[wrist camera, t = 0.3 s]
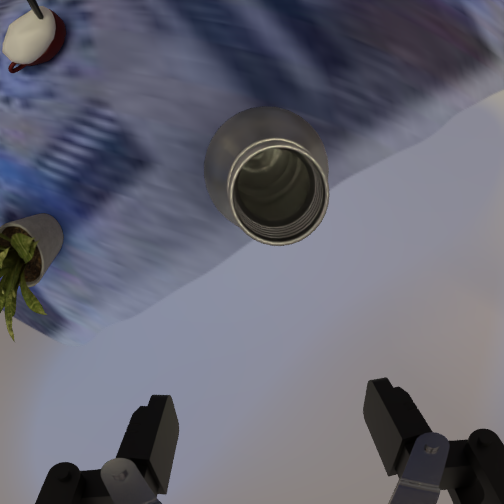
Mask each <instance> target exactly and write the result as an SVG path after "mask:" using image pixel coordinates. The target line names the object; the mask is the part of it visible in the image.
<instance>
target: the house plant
mask: <svg viewBox="0 0 504 504" xmlns="http://www.w3.org/2000/svg"><path fill="white" fill-rule="evenodd" d="M62 243H63V231H62V229H61V226H60V225H59V223H58V221H57V220H56V219H55V218H54V217H52V216H51V215H49V214H45V213H41V214H37V215H33V216H29V217H26V218H22V219H19V220H16V221H12V222H9V223H6V224H4V225H2V226H1V227H0V278H1V277H2V276H3V275H4V276H3V277H2V279H1V282H0V313H1V311H2V309H3V307H4V306H5V319H6V325H7V329H8V332H9V334H10V336H11V337H12V339H13V341H14V334H13V330H12V317H13V316H14V314H15V310H16V296H17V289H18V286H20V288H21V292H22V295H23V298H24V300H25V302H26V304H27V306H28V307H29V308H30V309H31V310H32V311H34V312H36V313H39V314H43V315H47V314H45V313H44V310H43V307H42V305H41V304H40V302H39V301H38V300H37V298H36V297H35V296H34V295H33V293H32V292H31V291H30V289H29V288H28V287H31V286H35V285H36V284H37V283H38V282H39V281H40V280H41V278H42V277H43V275H44V273H45V272H46V270H47V269H48V267H49V266H50V264H51V263H52V261H53V260H54V258H55V257H56V255H57V254H58V252H59V251H60V249H61V247H62Z"/></svg>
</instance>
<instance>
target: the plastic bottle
mask: <svg viewBox="0 0 504 504" xmlns="http://www.w3.org/2000/svg"><path fill="white" fill-rule="evenodd" d="M328 172H329V168H328V158H327V154H326V151H325V147H324V144H323V143H322V141H321V139H320V137H319V135H318V133H317V132H316V131H315V130H314V129H313V127H312V126H311V125H310V124H309V123H308V122H307V121H305V120H304V119H303V118H302V117H300V116H299V115H297V114H295V113H293V112H291V111H289V110H285V109H282V108H278V107H268V106H262V107H255V108H250V109H247V110H245V111H242V112H239V113H238V114H236V115H234V116H233V117H231V118H230V119H228V120H227V121H226V122H225V123H224V124H223V125H222V126H221V127H220V128H219V129H218V130H217V132H216V133H215V135H214V136H213V138H212V139H211V142H210V144H209V146H208V149H207V152H206V156H205V161H204V178H205V183H206V188H207V191H208V193H209V196H210V198H211V200H212V202H213V203H214V205H215V206H216V208H217V209H218V211H219V212H220V213H221V214H222V215H223V216H224V217H225V218H226V219H228V220H229V221H231V222H232V223H234V224H235V225H236V226H238V227H240V228H241V229H242V230H243V231H244V232H245V233H246V234H247V235H248V236H250V237H251V238H253V239H254V240H256V241H259V242H261V243H263V244H268V245H272V246H284V245H289V244H293V243H296V242H299V241H301V240H302V239H304V238H306V237H307V236H309V235H310V234H311V233H312V232H313V231H314V230H315V229H316V228H317V227H318V226H319V224H320V223H321V222H322V220H323V218H324V216H325V214H326V210H327V207H328V202H329V185H328Z"/></svg>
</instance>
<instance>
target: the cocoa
mask: <svg viewBox="0 0 504 504" xmlns="http://www.w3.org/2000/svg"><path fill="white" fill-rule="evenodd" d="M27 1H28V3H29V5H30V7H31V8H32V10H31V11H29V12H28V13H26V14H24V15H23V16H21V17H20V18H18V19H17V20H15V21H14V22H13V23H11V24H10V25H9V28H8V31H7V33H6V36H5V39H4V42H3V50H2V52H3V53H4V54H5V55H6V56H7V57H8V58H9V59H10V60H11V61H12V63H11V64H10V66H9V68H8V69H9V72H11V73H15V72H18V71H19V70H21V69H23V68H24V67H26V66H33V65H38V64H41V63H44V62H46V61H49V60H50V59H51V58H53V57H54V56H55V55H56V54H57V53H58V51H59V50H60V48H61V47H62V45H63V43H64V40H65V36H66V29H65V24H64V22H63V21H62V19H61V18H60V17H59V16H58V15H57V14H56V13H55V12H53V11H52V10H50V9H47V8H46V7H44V6H38V4H37V2H36V0H27ZM16 64H21V65H19V66H18V67H16V68H14V66H15V65H16ZM13 68H14V69H13Z"/></svg>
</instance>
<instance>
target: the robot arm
mask: <svg viewBox="0 0 504 504" xmlns="http://www.w3.org/2000/svg"><path fill="white" fill-rule="evenodd" d="M363 414H364V419H365V422H366V424H367V426H368V429H369V431H370V433H371V436H372V438H373V441H374V443H375V445H376V448H377V450H378V452H379V455H380V457H381V460H382V462H383V465H384V467H385V470H386V472H387V475H388V476H392V475H396V474H398V477H399V481H398V483H397V486H396V488H395V490H394V493H393V495H392V497H391V499H390V501H389V503H388V504H436V503H437V500H438V497H439V494H440V490H446V489H447V490H448V492H449V494H450V496H451V498H452V501H453V504H504V445H503V443H502V442H501V440H500V439H499V437H498V436H497V434H496V433H494V432H493V431H491V430H488V429H478V430H476V431H474V432H473V433H472V434H471V435H470V436H469V438H468V440H457V441H448V440H447V438H445V436H443V435H441V434H439V433H434V432H432V430H431V429H430V427H429V426H428V424H427V423H426V421H425V419H424V418H423V416H422V414H421V413H420V411H419V410H418V409H417V406H416V405H415V403H413V400H412V399H411V397H410V395H409V394H408V393H407V392H406V391H404V390H403V389H402V388H400V387H395V388H393V386H392V385H391V383H390V382H389V380H388V379H387V378H381V379H374V380H370V381H368V384H367V390H366V396H365V402H364V407H363ZM178 435H179V423H178V419H177V415H176V412H175V408H174V404H173V401H172V398H171V396H170V395H152V396H151V398H150V401H149V404H148V406H140V407H139V408H138V409H137V410H136V411H135V412H134V413H133V415H132V417H131V420H130V422H129V425H128V427H127V432H125V435H124V438H123V440H122V443H121V445H120V448H119V451H118V453H117V456H116V458H115V459H112V460H110V461H108V462H106V463H105V464H104V465H103V467H102V468H101V469H98V470H87V471H80V470H79V469H78V467H77V466H76V465H74V464H72V463H69V462H62V463H59V464H56V465H54V466H53V467H52V468H51V469H50V471H49V472H48V474H47V477H46V479H45V482H44V484H43V486H42V488H41V491H40V493H39V496H38V498H37V500H36V503H35V504H162V503H161V502H160V501H159V500H158V499H157V494H167V488H168V483H169V479H170V473H171V469H172V464H173V459H174V454H175V449H176V445H177V440H178Z"/></svg>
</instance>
